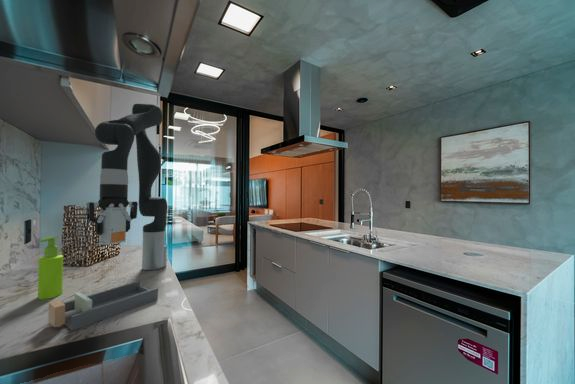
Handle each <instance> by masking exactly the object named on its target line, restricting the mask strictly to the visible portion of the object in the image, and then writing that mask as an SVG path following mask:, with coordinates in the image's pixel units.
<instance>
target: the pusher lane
mask: <svg viewBox="0 0 575 384" xmlns="http://www.w3.org/2000/svg"><path fill="white" fill-rule="evenodd" d="M141 282H142V281H141V280H138V281H133V282H131V283H127V284H124V285H120V286H116V287H113V288H109V289H106V290H102V291H98V292H96V293H92V294H89V295H85V296H86V297H88V298H90V299H91V300H92V309H91V310H88V311H85V312H82V313H79V314H76V315H73V316H70V317H67V318H65V324H64V325H65V326H66V327H67V328H68V330H70V331H71V332H73V331H76V330H79V329H81V328H83V327H84V328H85V327H86V326H90V325H91V324H94V323H97V322H99V321H102V320H105V319H108V318H111V317H113V316H116V315H119V314H121V313H123V312H127V311H130V310H132V309H134V308H137V307H140V306H143V305H145V304H148V303H151V302H153V301H156V300H158V299H159V297H158V295H159V287H155V288H152V289H151V288H147V287H145V286H143V285H141ZM74 302H75V298H74V299H71V300H68V301H64V302H63V303H64V304H65V312H68V311H72V310H74Z"/></svg>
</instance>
